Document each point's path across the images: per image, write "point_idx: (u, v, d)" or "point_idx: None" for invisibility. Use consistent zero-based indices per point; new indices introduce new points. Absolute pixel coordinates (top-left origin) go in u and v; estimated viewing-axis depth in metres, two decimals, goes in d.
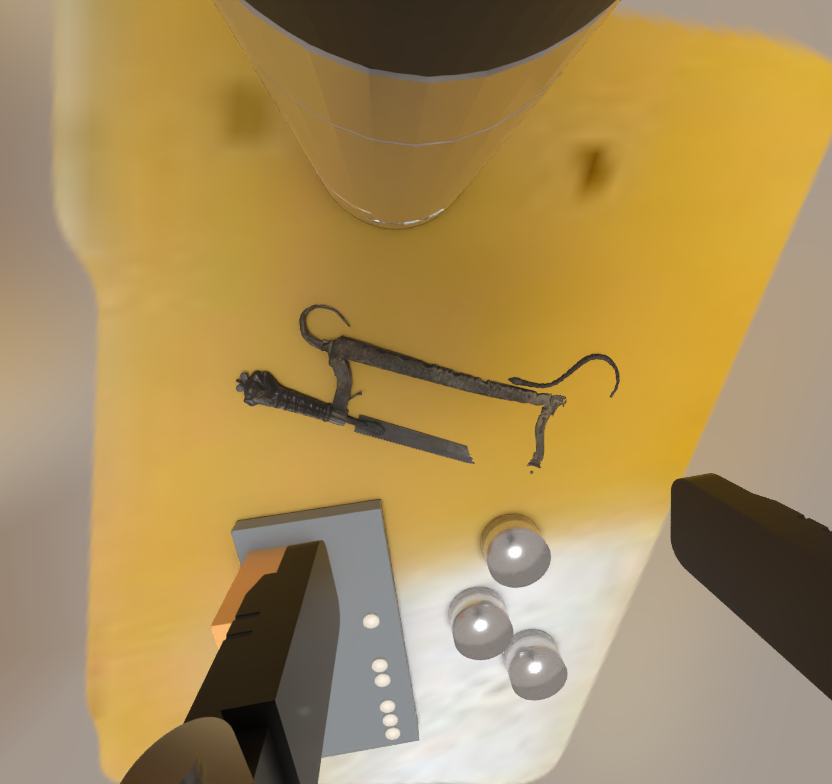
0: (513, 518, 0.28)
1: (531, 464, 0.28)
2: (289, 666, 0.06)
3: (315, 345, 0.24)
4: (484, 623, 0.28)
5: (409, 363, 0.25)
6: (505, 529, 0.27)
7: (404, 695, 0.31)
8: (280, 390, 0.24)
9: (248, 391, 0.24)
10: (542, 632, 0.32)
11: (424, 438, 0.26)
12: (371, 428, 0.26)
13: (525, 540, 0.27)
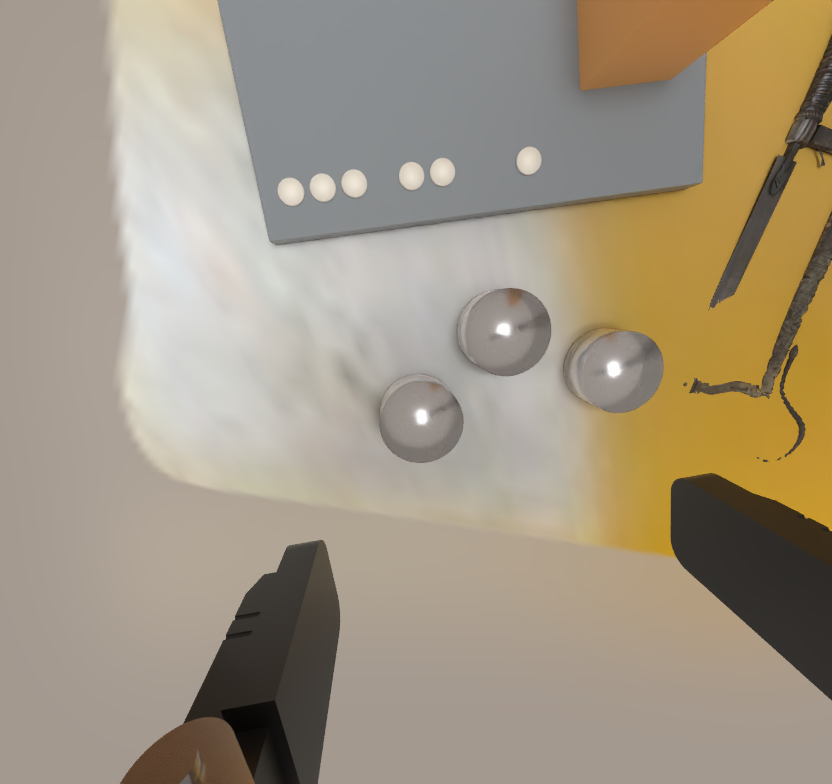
0: None
1: (695, 382, 0.24)
2: (289, 666, 0.06)
3: None
4: (530, 332, 0.20)
5: None
6: None
7: (372, 214, 0.19)
8: None
9: None
10: None
11: (750, 248, 0.22)
12: (780, 177, 0.21)
13: (652, 377, 0.21)
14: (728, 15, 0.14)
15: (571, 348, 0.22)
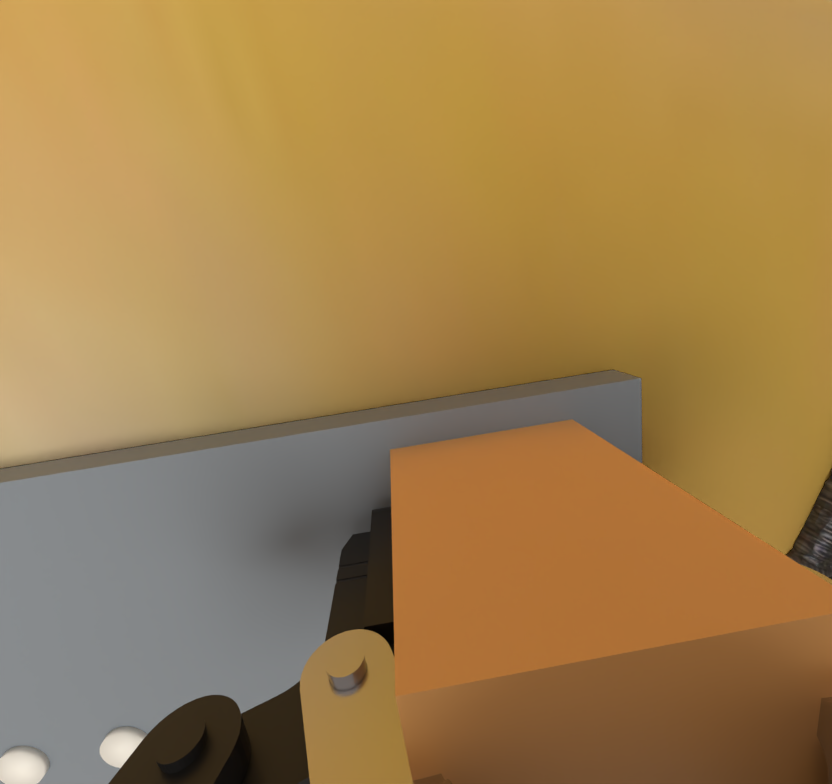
0: None
1: None
2: None
3: None
4: None
5: None
6: None
7: None
8: None
9: None
10: None
11: None
12: None
13: None
14: None
15: None
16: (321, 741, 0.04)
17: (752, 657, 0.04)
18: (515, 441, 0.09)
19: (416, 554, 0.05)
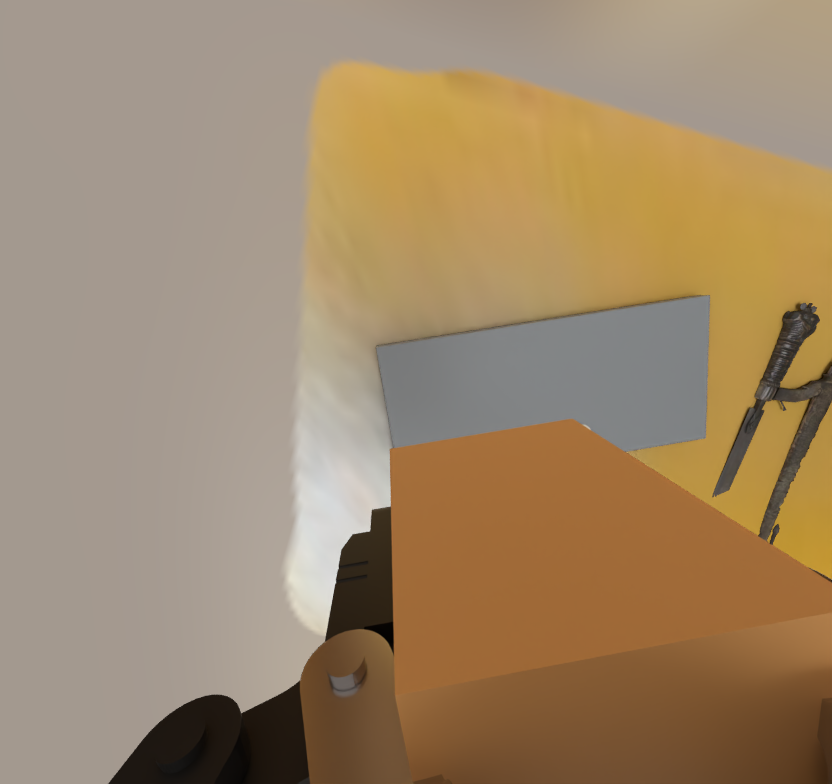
0: None
1: None
2: None
3: None
4: None
5: (806, 446, 0.29)
6: None
7: None
8: None
9: (811, 317, 0.26)
10: None
11: (735, 467, 0.30)
12: (752, 422, 0.29)
13: None
14: None
15: None
16: (321, 741, 0.04)
17: (753, 656, 0.04)
18: (515, 440, 0.09)
19: (416, 553, 0.05)
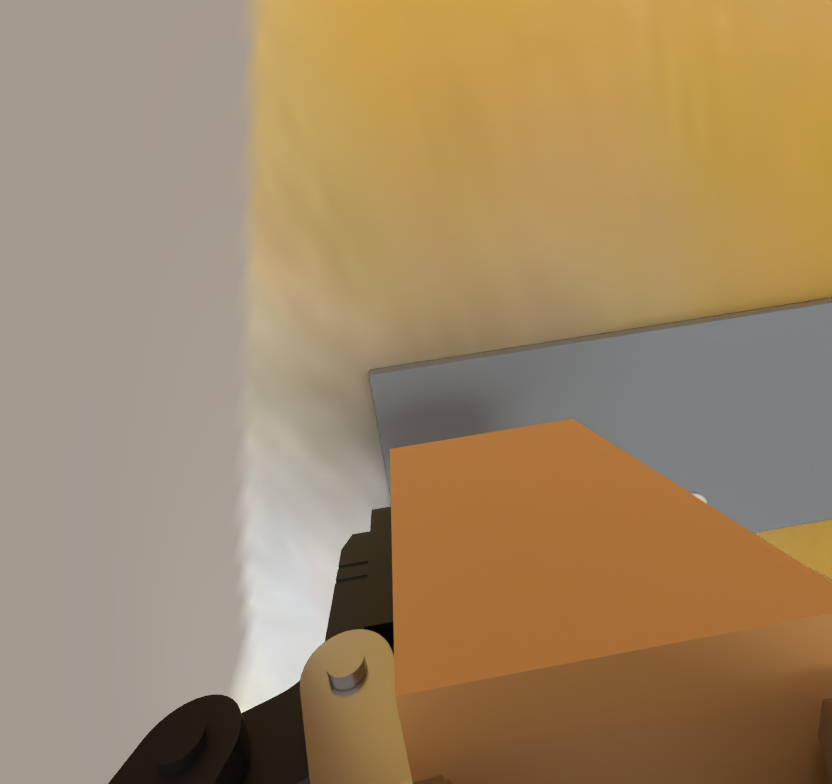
0: None
1: None
2: None
3: None
4: None
5: None
6: None
7: None
8: None
9: None
10: None
11: None
12: None
13: None
14: None
15: None
16: (321, 741, 0.04)
17: (753, 656, 0.04)
18: (515, 440, 0.09)
19: (417, 554, 0.05)
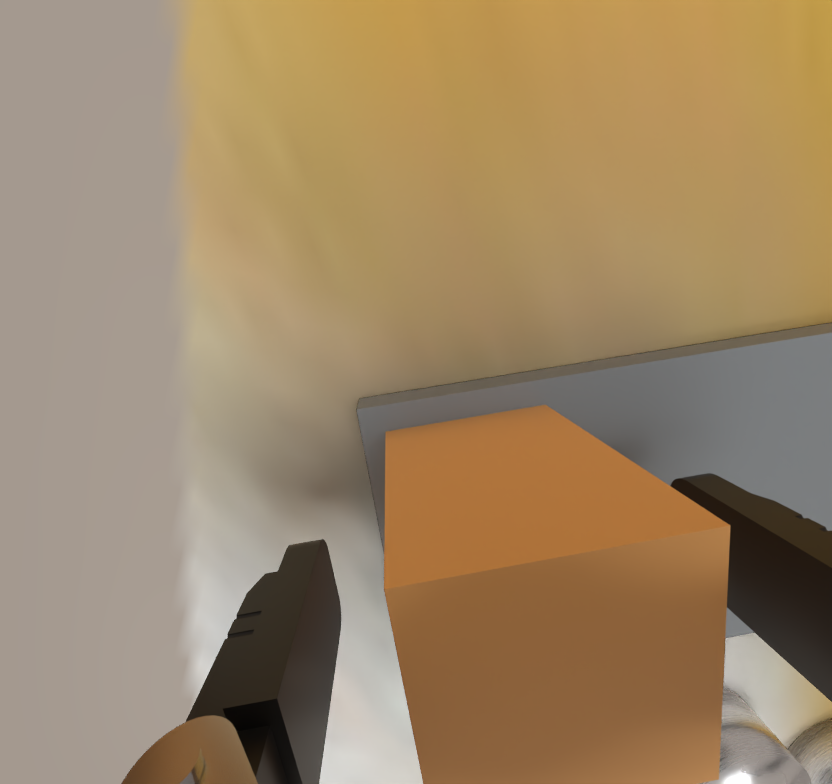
0: None
1: None
2: (291, 665, 0.06)
3: None
4: None
5: None
6: None
7: None
8: None
9: None
10: None
11: None
12: None
13: None
14: None
15: (799, 746, 0.16)
16: None
17: (647, 563, 0.05)
18: (494, 423, 0.10)
19: (404, 504, 0.07)
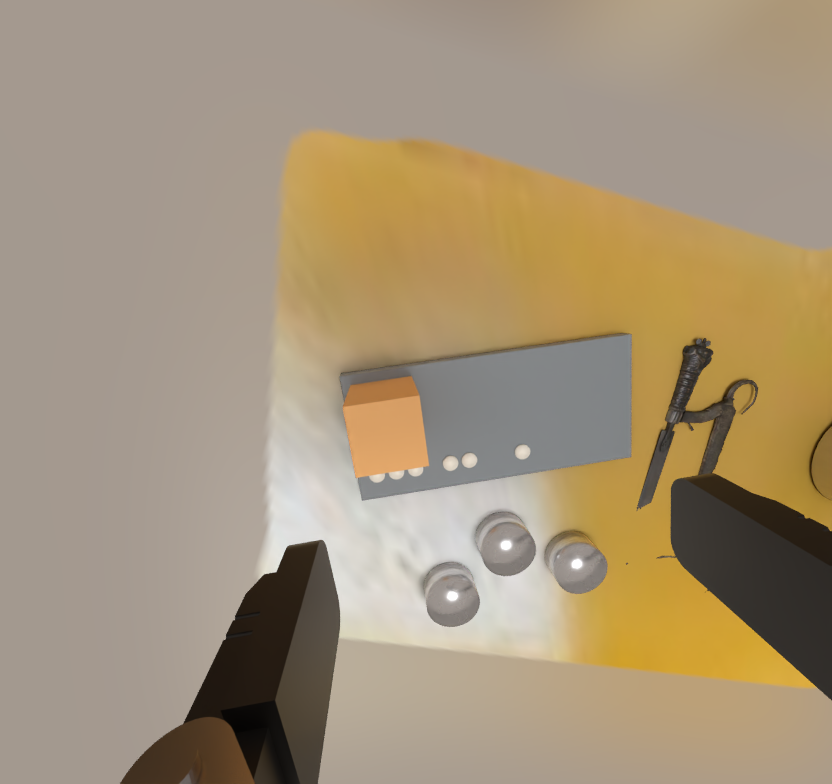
0: None
1: None
2: (289, 666, 0.06)
3: (731, 393, 0.32)
4: (523, 550, 0.31)
5: (714, 459, 0.33)
6: None
7: (425, 483, 0.31)
8: None
9: (704, 351, 0.30)
10: None
11: (654, 481, 0.34)
12: (665, 442, 0.33)
13: (600, 572, 0.33)
14: None
15: (549, 544, 0.34)
16: None
17: (401, 403, 0.23)
18: (389, 381, 0.28)
19: (351, 398, 0.24)
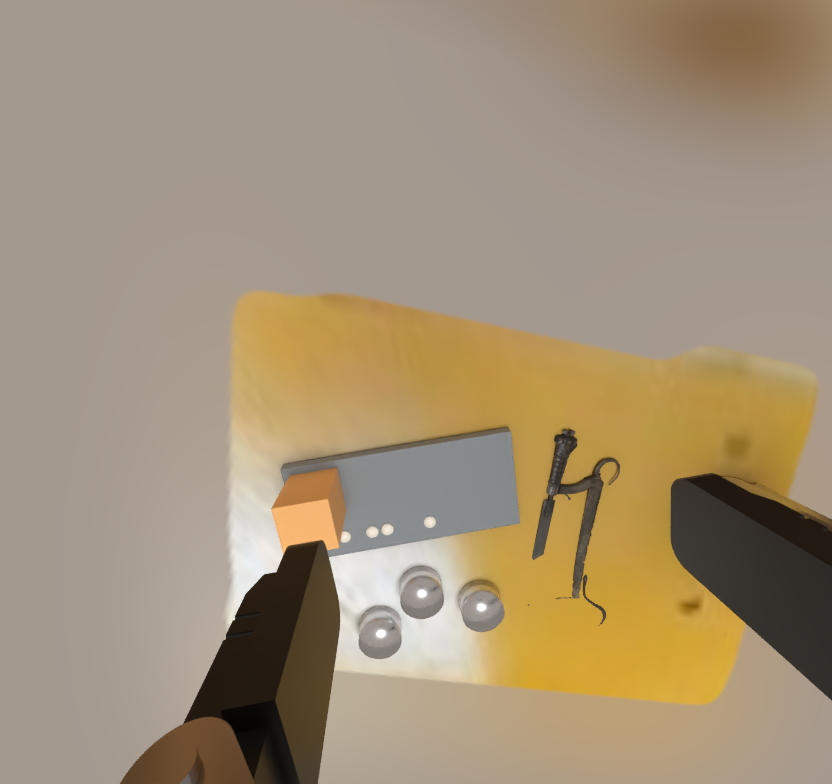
0: None
1: None
2: (289, 666, 0.06)
3: (597, 470, 0.40)
4: (433, 599, 0.39)
5: (591, 521, 0.41)
6: (500, 599, 0.41)
7: (353, 547, 0.39)
8: (568, 456, 0.39)
9: (568, 440, 0.38)
10: None
11: (543, 539, 0.42)
12: (547, 509, 0.41)
13: (499, 615, 0.41)
14: None
15: (461, 591, 0.42)
16: None
17: (315, 505, 0.31)
18: (318, 473, 0.36)
19: (282, 496, 0.33)
